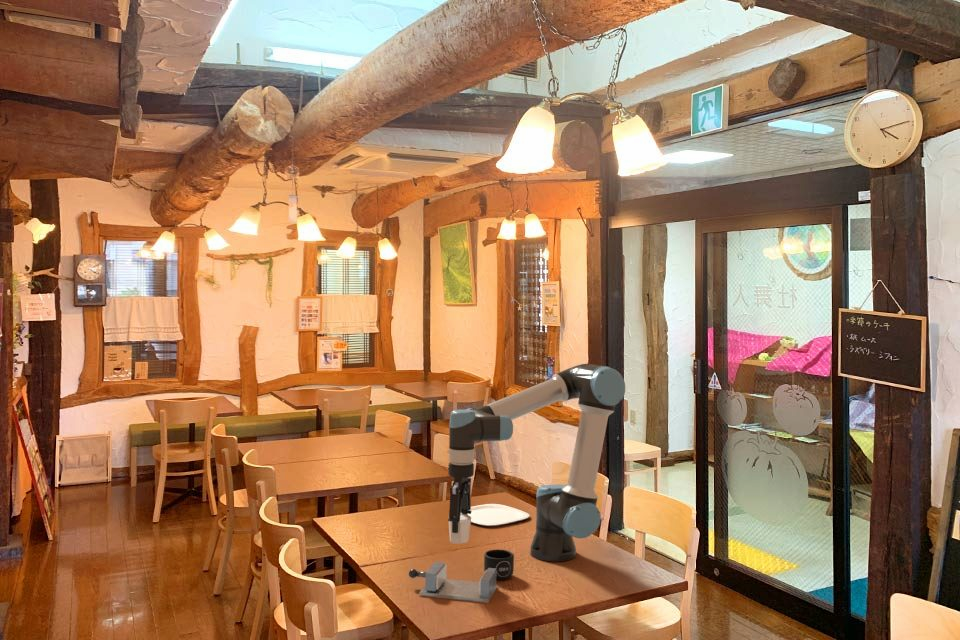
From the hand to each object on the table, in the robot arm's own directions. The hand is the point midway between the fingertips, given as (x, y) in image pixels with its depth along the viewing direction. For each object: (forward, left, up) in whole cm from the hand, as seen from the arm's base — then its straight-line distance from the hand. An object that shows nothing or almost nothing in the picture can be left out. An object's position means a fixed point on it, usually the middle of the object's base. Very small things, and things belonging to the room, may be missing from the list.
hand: (459, 539), depth 232 cm
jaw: (+9, +6, -12) cm, 16 cm away
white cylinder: (0, 0, -1) cm, 1 cm away
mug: (-10, -10, -14) cm, 19 cm away
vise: (-2, +6, -13) cm, 15 cm away
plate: (+5, -71, -14) cm, 73 cm away
